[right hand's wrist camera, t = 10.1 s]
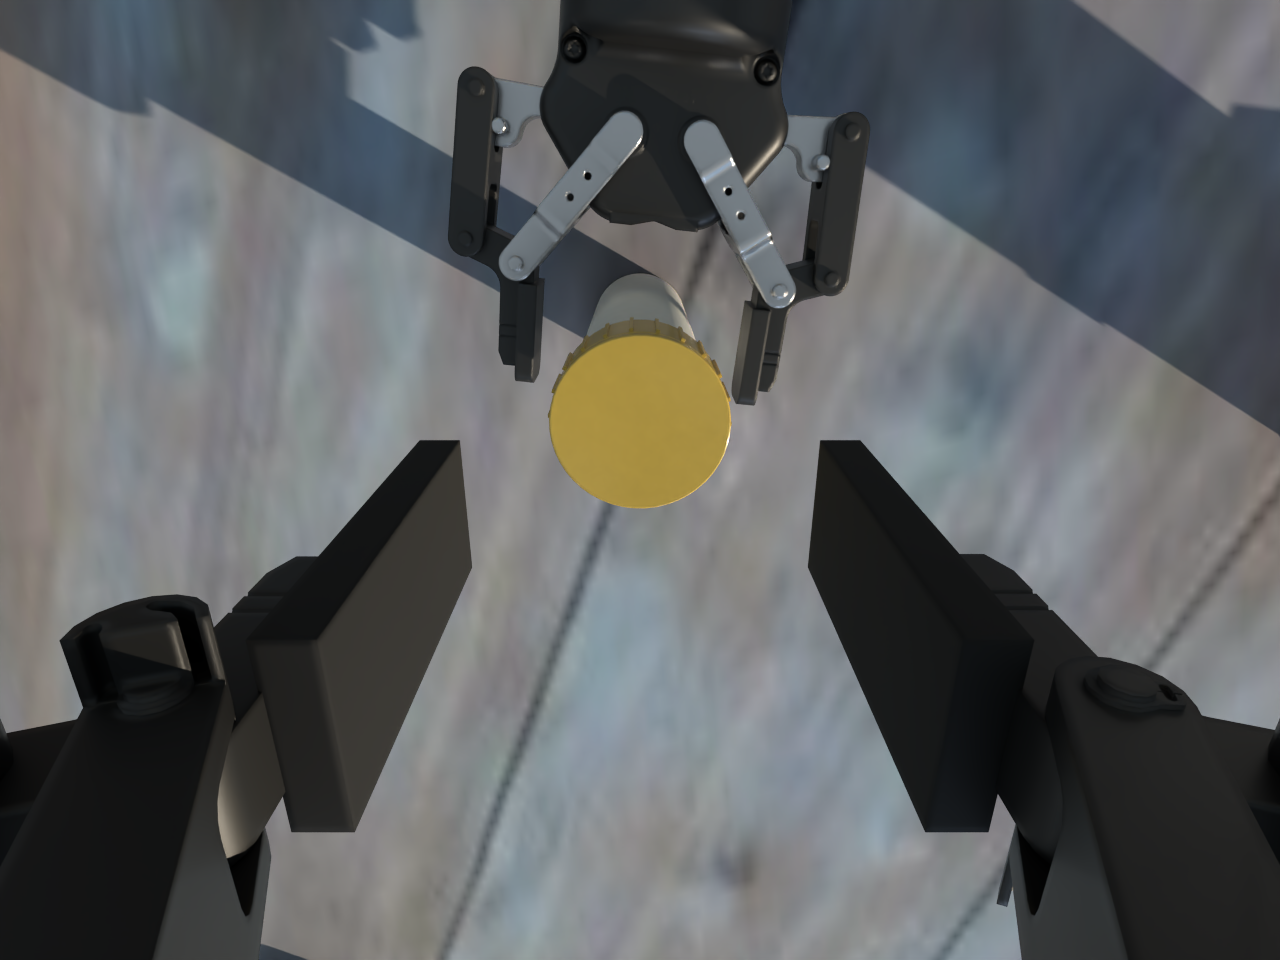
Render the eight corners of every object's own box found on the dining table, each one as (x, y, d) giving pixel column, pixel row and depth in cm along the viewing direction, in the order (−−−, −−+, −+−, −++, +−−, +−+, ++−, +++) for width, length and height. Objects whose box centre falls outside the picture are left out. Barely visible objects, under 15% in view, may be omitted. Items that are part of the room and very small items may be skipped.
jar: (611, 260, 33) (588, 318, 18) (697, 291, 34) (743, 372, 19) (583, 346, 35) (541, 466, 20) (666, 375, 35) (686, 512, 20)
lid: (584, 291, 20) (578, 304, 18) (750, 350, 21) (763, 369, 18) (535, 449, 22) (524, 478, 19) (689, 499, 22) (694, 533, 20)
